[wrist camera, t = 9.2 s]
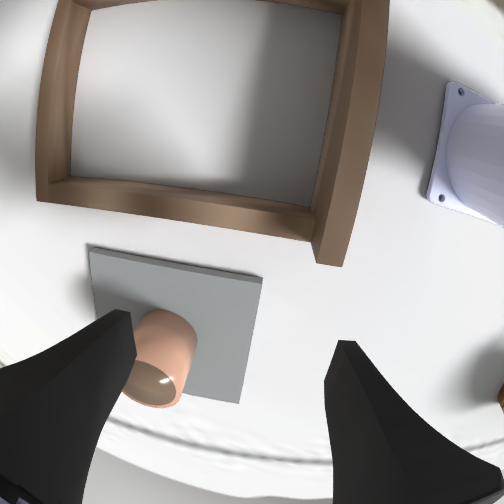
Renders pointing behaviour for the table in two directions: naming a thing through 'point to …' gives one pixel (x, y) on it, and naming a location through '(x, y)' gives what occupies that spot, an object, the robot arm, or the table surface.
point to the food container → (501, 398)
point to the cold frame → (214, 203)
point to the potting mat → (186, 312)
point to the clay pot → (161, 359)
